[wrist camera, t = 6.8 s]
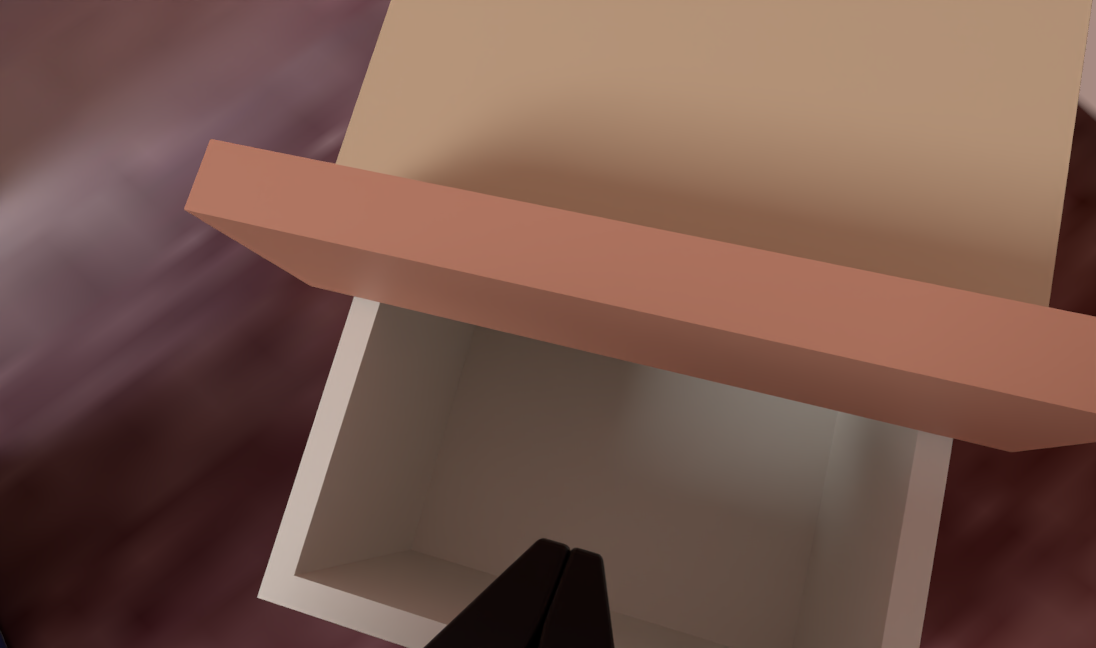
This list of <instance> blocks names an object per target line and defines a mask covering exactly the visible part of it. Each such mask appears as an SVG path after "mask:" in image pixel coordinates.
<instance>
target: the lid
mask: <svg viewBox="0 0 1096 648" xmlns="http://www.w3.org/2000/svg"><path fill="white" fill-rule="evenodd" d="M1091 6H1092V0H391V2H390V5H389V8H388V11H387V14H386V17H385V20H384V23H383V26H382V29H381V32H380V35H379V38H378V40H377V43H376V46H375V49H374V52H373V55H372V58H371V61H370V64H369V67H368V70H367V73H366V76H365V79H364V82H363V85H362V88H361V91H360V94H359V96H358V99H357V102H356V105H355V108H354V111H353V114H352V117H351V120H350V123H349V126H348V129H347V132H346V135H345V138H344V141H343V144H342V147H341V150H340V153H339V155H338V158H337V161H336V164H333V163H328V162H323V161H318V160H313V159H308V158H303V157H298V156H293V155H288V154H283V153H278V152H273V151H268V150H263V149H258V148H253V147H248V146H243V145H238V144H233V143H228V142H223V141H218V140H213V139H210V142H209V144H208V147H207V150H206V152H205V155H204V158H203V160H202V163H201V166H200V168H199V171H198V174H197V176H196V179H195V182H194V184H193V187H192V190H191V192H190V195H189V198H188V200H187V203H186V206H185V208H184V210H186V211H187V212H189V213H191V214H192V215H194V216H196V217H197V218H199V219H201V220H202V221H204V222H205V223H207V224H209V225H210V226H212V227H214V228H215V229H217V230H219V231H220V232H222V233H224V234H225V235H227V236H229V237H230V238H232V239H234V240H235V241H237V242H239V243H240V244H242V245H244V246H245V247H247V248H249V249H250V250H252V251H253V252H255V253H257V254H258V255H260V256H262V257H263V258H265V259H267V260H268V261H270V262H272V263H273V264H275V265H277V266H278V267H280V268H282V269H283V270H285V271H287V272H288V273H290V274H292V275H293V276H295V277H296V278H298V279H300V280H301V281H303V282H305V283H306V284H308V285H310V286H313V287H317V288H321V289H326V290H330V291H334V292H338V293H342V294H347V295H351V296H355V297H359V298H363V299H368V300H372V301H376V302H380V303H385V304H389V305H393V306H397V307H401V308H406V309H410V310H414V311H418V312H422V313H427V314H431V315H435V316H439V317H444V318H448V319H452V320H456V321H460V322H465V323H469V324H473V325H477V326H481V327H486V328H490V329H494V330H498V331H503V332H507V333H511V334H515V335H519V336H524V337H528V338H532V339H536V340H540V341H545V342H549V343H553V344H557V345H561V346H566V347H570V348H574V349H578V350H583V351H587V352H591V353H595V354H599V355H604V356H608V357H612V358H616V359H620V360H625V361H629V362H633V363H637V364H642V365H646V366H650V367H654V368H658V369H663V370H667V371H671V372H675V373H679V374H684V375H688V376H692V377H696V378H701V379H705V380H709V381H713V382H717V383H722V384H726V385H730V386H734V387H738V388H743V389H747V390H751V391H755V392H760V393H764V394H768V395H772V396H776V397H781V398H785V399H789V400H793V401H797V402H802V403H806V404H810V405H814V406H819V407H823V408H827V409H831V410H835V411H840V412H844V413H848V414H852V415H856V416H861V417H865V418H869V419H873V420H878V421H882V422H886V423H890V424H894V425H899V426H903V427H907V428H911V429H915V430H920V431H924V432H928V433H932V434H936V435H941V436H945V437H949V438H953V439H958V440H962V441H966V442H970V443H974V444H979V445H983V446H987V447H991V448H995V449H1000V450H1004V451H1008V452H1019V451H1027V450H1035V449H1043V448H1052V447H1060V446H1068V445H1076V444H1085V443H1093V442H1096V317H1095V316H1090V315H1085V314H1080V313H1075V312H1070V311H1065V310H1060V309H1055V308H1050V307H1049V301H1050V294H1051V287H1052V280H1053V273H1054V266H1055V259H1056V252H1057V245H1058V238H1059V231H1060V224H1061V217H1062V210H1063V203H1064V196H1065V189H1066V182H1067V175H1068V168H1069V161H1070V154H1071V147H1072V140H1073V133H1074V126H1075V119H1076V112H1077V105H1078V98H1079V90H1080V83H1081V77H1082V69H1083V62H1084V56H1085V49H1086V42H1087V34H1088V28H1089V21H1090V13H1091Z"/></svg>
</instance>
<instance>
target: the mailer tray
mask: <svg viewBox="0 0 1096 648" xmlns="http://www.w3.org/2000/svg"><path fill="white" fill-rule="evenodd" d="M952 443H953V438H949V437H945V436H941V435H936V434H932V433H928V432H924V431H920V430H915V429H911V428H907V427H903V426H899V425H894V424H890V423H886V422H882V421H878V420H873V419H869V418H865V417H861V416H856V415H852V414H848V413H844V412H840V411H835V410H831V409H827V408H823V407H819V406H814V405H810V404H806V403H802V402H797V401H793V400H789V399H785V398H781V397H776V396H772V395H768V394H764V393H760V392H755V391H751V390H747V389H743V388H738V387H734V386H730V385H726V384H722V383H717V382H713V381H709V380H705V379H701V378H696V377H692V376H688V375H684V374H679V373H675V372H671V371H667V370H663V369H658V368H654V367H650V366H646V365H642V364H637V363H633V362H629V361H625V360H620V359H616V358H612V357H608V356H604V355H599V354H595V353H591V352H587V351H583V350H578V349H574V348H570V347H566V346H561V345H557V344H553V343H549V342H545V341H540V340H536V339H532V338H528V337H524V336H519V335H515V334H511V333H507V332H503V331H498V330H494V329H490V328H486V327H481V326H477V325H473V324H469V323H465V322H460V321H456V320H452V319H448V318H444V317H439V316H435V315H431V314H427V313H422V312H418V311H414V310H410V309H406V308H401V307H397V306H393V305H389V304H385V303H380V302H376V301H372V300H368V299H363V298H359V297H355V296H354V299H353V302H352V305H351V308H350V311H349V314H348V317H347V320H346V323H345V327H344V330H343V333H342V336H341V339H340V342H339V345H338V348H337V351H336V354H335V358H334V361H333V364H332V367H331V370H330V373H329V376H328V379H327V382H326V385H325V389H324V392H323V395H322V398H321V401H320V404H319V407H318V410H317V413H316V416H315V420H314V423H313V426H312V429H311V432H310V435H309V438H308V441H307V444H306V447H305V451H304V454H303V457H302V460H301V463H300V466H299V469H298V472H297V475H296V478H295V482H294V485H293V488H292V491H291V494H290V497H289V500H288V503H287V506H286V509H285V513H284V516H283V519H282V522H281V525H280V528H279V531H278V534H277V537H276V540H275V544H274V547H273V550H272V553H271V556H270V559H269V562H268V565H267V568H266V571H265V575H264V578H263V581H262V584H261V587H260V590H259V593H258V596H257V598H260V599H263V600H266V601H269V602H272V603H275V604H278V605H281V606H284V607H287V608H290V609H293V610H296V611H299V612H302V613H305V614H308V615H311V616H314V617H317V618H320V619H323V620H326V621H329V622H332V623H335V624H338V625H341V626H344V627H347V628H351V629H354V630H357V631H360V632H363V633H366V634H369V635H372V636H375V637H378V638H381V639H384V640H387V641H390V642H393V643H396V644H399V645H402V646H405V647H408V648H423V647H424V646H426V645H427V644H428V643H429V642H430V641H431V640H432V639H433V638H434V637H435V636H436V635H437V634H438V633H439V632H440V631H441V630H442V629H444V628H445V627H446V626H447V625H448V624H449V623H450V622H451V621H452V620H453V619H454V618H455V617H456V616H457V615H458V614H459V613H460V612H462V611H463V610H464V609H465V608H466V607H467V606H468V605H469V604H470V603H471V602H472V601H473V600H474V599H475V598H476V597H477V596H478V595H479V594H481V593H482V592H483V591H484V590H485V589H486V588H487V587H488V586H489V585H490V584H491V583H492V582H493V581H494V580H495V579H496V578H497V577H499V576H500V575H501V574H502V573H503V572H504V571H505V570H506V569H507V568H508V567H509V566H510V565H511V564H512V563H513V562H514V561H515V560H517V559H518V558H519V557H520V556H521V555H522V554H523V553H524V552H525V551H526V550H527V549H528V548H529V547H530V546H531V545H532V544H533V543H535V542H536V541H537V540H539V539H541V538H546V539H550V540H553V541H557V542H560V543H564V544H566V545H568V546H569V547H570V551H571V550H572V549H573V548H581V549H584V550H588V551H591V552H595V553H598V554H600V555H601V556H602V558H603V561H604V568H605V575H606V583H607V591H608V599H609V607H610V615H611V623H612V631H613V639H614V646H615V648H919V647H920V641H921V635H922V628H923V622H924V616H925V610H926V604H927V597H928V591H929V585H930V579H931V573H932V567H933V560H934V554H935V548H936V542H937V536H938V530H939V523H940V517H941V511H942V505H943V499H944V492H945V486H946V480H947V474H948V468H949V462H950V455H951V449H952Z"/></svg>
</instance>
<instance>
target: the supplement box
mask: <svg viewBox="0 0 1096 648" xmlns="http://www.w3.org/2000/svg"><path fill="white" fill-rule="evenodd" d="M0 648H8V647H7V645H6V643H5V640H4V638H3V635H2V633H1V631H0Z"/></svg>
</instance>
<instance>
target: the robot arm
mask: <svg viewBox="0 0 1096 648" xmlns="http://www.w3.org/2000/svg"><path fill="white" fill-rule="evenodd" d="M423 648H615V646H614V639H613V631H612V623H611V615H610V607H609V599H608V591H607V583H606V575H605V568H604V561H603V558H602V556H601V555H600V554H598V553H595V552H591V551H588V550H584V549H581V548H573V549H572V550H571V551H570V547H569V546H568V545H566V544H564V543H560V542H557V541H553V540H550V539H546V538H541V539H539V540H537V541H536V542H535V543H533V544H532V545H531V546H530V547H529V548H528V549H527V550H526V551H525V552H524V553H523V554H522V555H521V556H520V557H519V558H518V559H517V560H515V561H514V562H513V563H512V564H511V565H510V566H509V567H508V568H507V569H506V570H505V571H504V572H503V573H502V574H501V575H500V576H499V577H497V578H496V579H495V580H494V581H493V582H492V583H491V584H490V585H489V586H488V587H487V588H486V589H485V590H484V591H483V592H482V593H481V594H479V595H478V596H477V597H476V598H475V599H474V600H473V601H472V602H471V603H470V604H469V605H468V606H467V607H466V608H465V609H464V610H463V611H462V612H460V613H459V614H458V615H457V616H456V617H455V618H454V619H453V620H452V621H451V622H450V623H449V624H448V625H447V626H446V627H445V628H444V629H442V630H441V631H440V632H439V633H438V634H437V635H436V636H435V637H434V638H433V639H432V640H431V641H430V642H429V643H428V644H427V645H426V646H424V647H423Z"/></svg>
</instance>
